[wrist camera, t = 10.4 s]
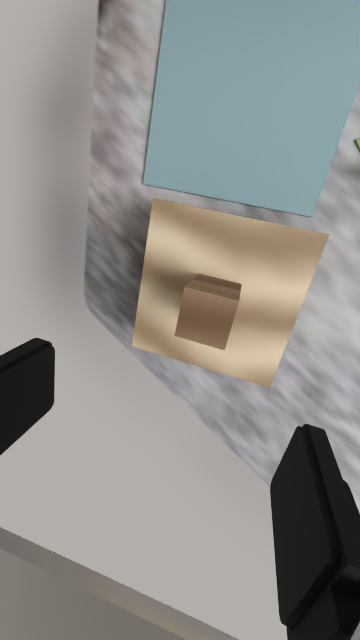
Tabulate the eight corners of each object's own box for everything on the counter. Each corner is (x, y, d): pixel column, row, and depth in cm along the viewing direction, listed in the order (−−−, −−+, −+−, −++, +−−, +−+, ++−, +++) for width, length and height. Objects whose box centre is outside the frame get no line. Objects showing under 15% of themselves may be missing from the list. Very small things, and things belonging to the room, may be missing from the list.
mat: (173, -46, 23) (172, -50, 22) (400, -35, 20) (403, -40, 20) (144, 184, 29) (142, 183, 29) (311, 216, 27) (311, 216, 26)
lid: (156, 199, 24) (123, 189, 18) (325, 234, 22) (357, 237, 16) (135, 342, 30) (104, 373, 24) (268, 382, 28) (274, 429, 21)
